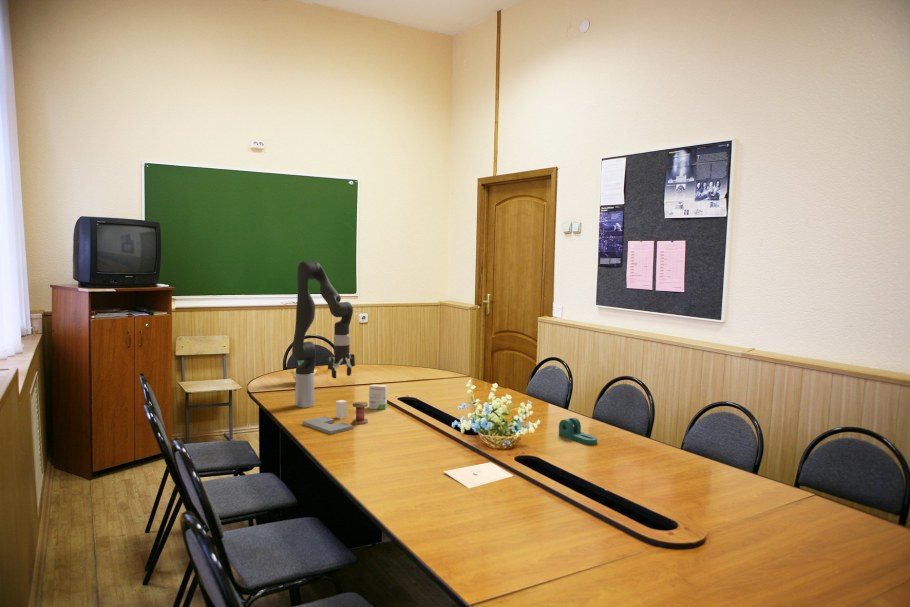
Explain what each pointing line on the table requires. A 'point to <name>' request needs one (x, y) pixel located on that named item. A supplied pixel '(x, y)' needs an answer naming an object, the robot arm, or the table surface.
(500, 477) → the paper sheet
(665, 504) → the table surface
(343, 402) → the block
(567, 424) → the bracket
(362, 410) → the spool
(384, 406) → the ink box
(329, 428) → the notched board
